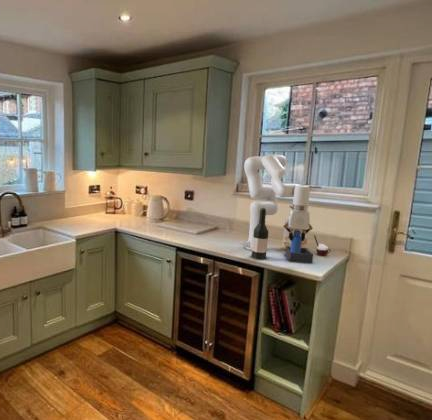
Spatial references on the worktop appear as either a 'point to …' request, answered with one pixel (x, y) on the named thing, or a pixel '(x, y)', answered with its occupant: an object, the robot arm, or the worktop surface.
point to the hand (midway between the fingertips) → (296, 239)
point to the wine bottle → (260, 238)
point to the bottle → (296, 242)
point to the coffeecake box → (288, 242)
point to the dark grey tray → (299, 255)
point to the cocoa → (321, 248)
